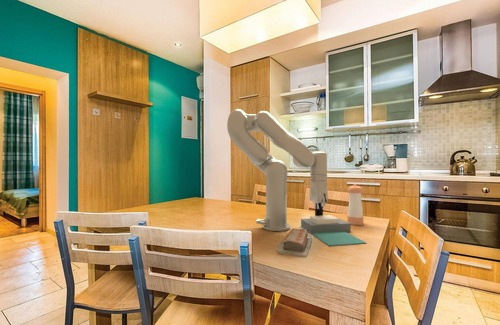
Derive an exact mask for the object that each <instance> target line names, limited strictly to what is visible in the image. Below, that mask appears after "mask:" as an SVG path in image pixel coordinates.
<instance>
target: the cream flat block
mask: <svg viewBox="0 0 500 325" xmlns="http://www.w3.org/2000/svg"><path fill="white" fill-rule="evenodd" d="M336 217H337V216H334V215H332V214H328V215H327V214H325V215H324V214H323V215H322V216H315V215H310V217H309V218H310V221H312V222H314V223H316V224H332V223H338V218H339V217H337V218H336Z"/></svg>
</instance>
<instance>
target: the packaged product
mask: <svg viewBox="0 0 500 325" xmlns="http://www.w3.org/2000/svg"><path fill="white" fill-rule="evenodd" d="M308 235H309V232H308V231H307V230H306V229H304V228H303V229H302V228H292V229H291V230H290V231H289V232H288V234H286V236H285V238H284V239H283V241H282V242H281V244H280V245H279V247H278V248H277V249H276V254H278V253H279V255H287V256H292V257H293V256H294V257H297V256H298V257H303V258H307V256H308V253H309V250H310V249H311V244H312V240H313V238H312V237H309V236H308Z"/></svg>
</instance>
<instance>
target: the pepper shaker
mask: <svg viewBox="0 0 500 325" xmlns="http://www.w3.org/2000/svg"><path fill="white" fill-rule="evenodd" d="M363 192H364V189H363V187H362V186H360V185H358V184H356V183H355V184H353V185H350V186H348V188H347V193H348V194H349V197H348V198H349V199H348V207H347V220H346V222H348V223H351V226H353V225H354V226H363V225H364V215H363V212H364V211H363V204H362V203H363V202H362V193H363Z"/></svg>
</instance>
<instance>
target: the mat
mask: <svg viewBox="0 0 500 325" xmlns="http://www.w3.org/2000/svg"><path fill="white" fill-rule="evenodd" d="M311 235H313V236H314V237H315V238H317V239H318V240H320V241H321V242H322V243H324V244H325V245H326V246H328V247H335V246H336V247H338V246H350V245H351V246H352V245H363V244H367V242H366V241H364V240H363V239H360V238H359V237H357V236H355V235H353V234H351V233H350V232H345V231H336V232H319V233H312V234H311Z"/></svg>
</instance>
